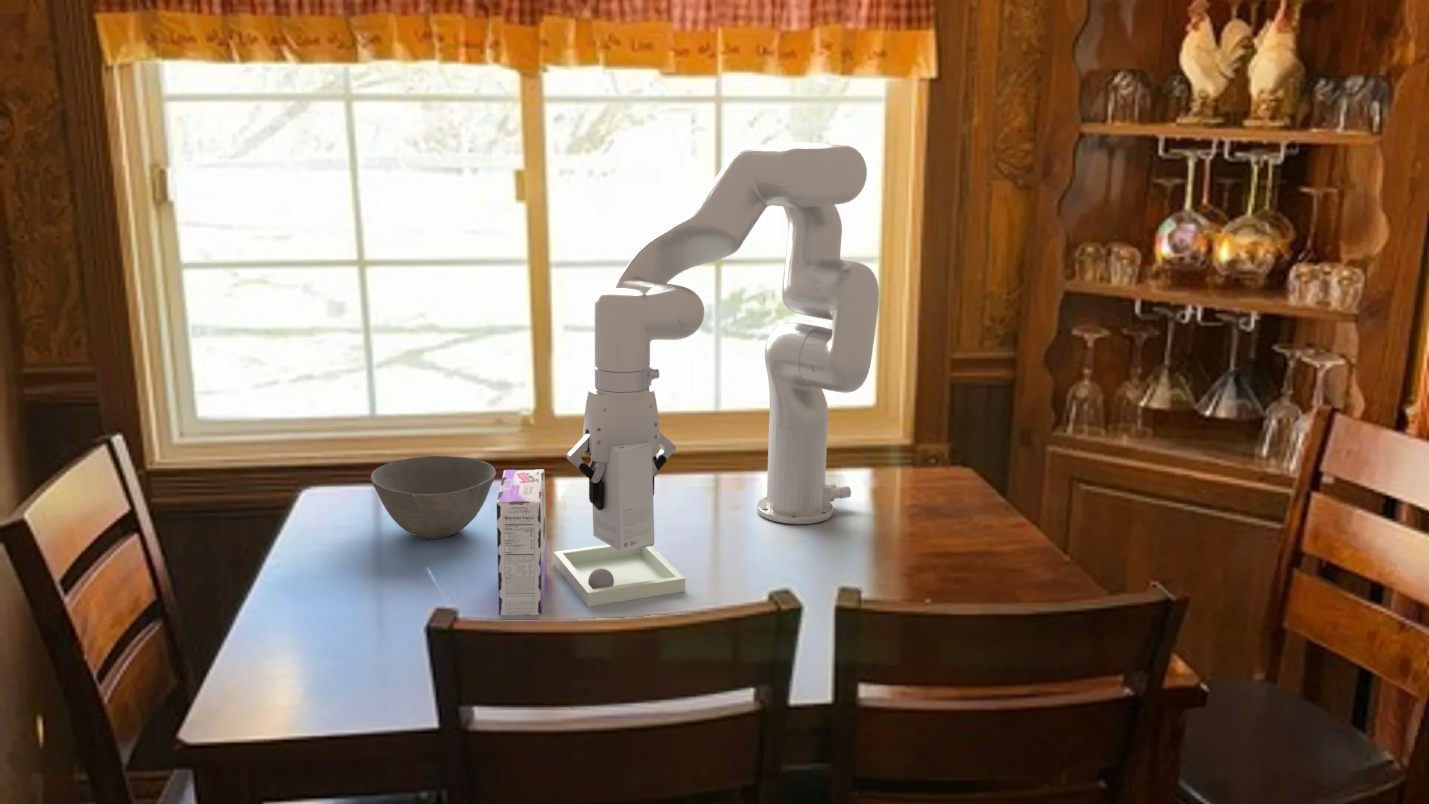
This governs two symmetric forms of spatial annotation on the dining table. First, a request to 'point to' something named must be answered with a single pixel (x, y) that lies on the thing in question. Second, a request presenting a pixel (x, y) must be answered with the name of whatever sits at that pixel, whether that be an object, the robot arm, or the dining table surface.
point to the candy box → (521, 542)
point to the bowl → (433, 492)
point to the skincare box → (627, 499)
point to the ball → (600, 579)
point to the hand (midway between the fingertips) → (621, 503)
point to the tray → (619, 573)
